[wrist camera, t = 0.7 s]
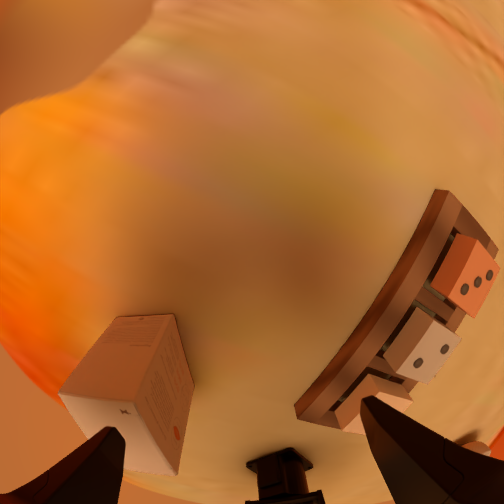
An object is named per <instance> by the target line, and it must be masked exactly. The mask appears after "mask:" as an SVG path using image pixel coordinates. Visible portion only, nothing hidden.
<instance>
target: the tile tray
mask: <svg viewBox="0 0 504 504" xmlns="http://www.w3.org/2000/svg"><path fill="white" fill-rule="evenodd" d="M450 233H451V234H452V235H453V236H454V237H456V234H457V233H458V234H462V235H465V236H468V237H471V238H474V239H477V240H478V241H479V242H480V243H481V244H482V246H483V247H484V248H485V249H486V250H487V252H488V253H489V254H490V255H491V257H492V258H493V259H495V257H496V254H497V252H498V250H499V249H498V248H497V246H496V245H495V244H494V242H493V241H492V240H491V238H490V237H489V236H488V235H487V233H486V232H485V231H484V229H483V228H482V227H481V226H480V225H479V223H478V222H477V221H476V220H475V219H474V217H473V216H472V215H471V214H470V213H469V212H468V210H467V209H466V208H465V207H464V206H463V205H462V204H461V203H460V202H459V200H458V199H457V198H456V197H455V196H454V195H453V194H452V193H451V192H450V191H447V190H437V189H435V191H434V193H433V196H432V198H431V200H430V202H429V204H428V206H427V209H426V211H425V213H424V215H423V217H422V219H421V221H420V223H419V225H418V227H417V229H416V231H415V233H414V235H413V237H412V238H411V240H410V242H409V244H408V246H407V248H406V250H405V251H404V253H403V255H402V257H401V258H400V260H399V262H398V264H397V265H396V267H395V269H394V271H393V272H392V274H391V276H390V277H389V279H388V281H387V282H386V284H385V285H384V287H383V289H382V290H381V292H380V293H379V295H378V297H377V298H376V300H375V301H374V303H373V304H372V306H371V307H370V309H369V310H368V312H367V313H366V315H365V316H364V318H363V319H362V320H361V322H360V323H359V325H358V326H357V328H356V329H355V330H354V332H353V333H352V335H351V336H350V337H349V339H348V340H347V341H346V343H345V344H344V345H343V347H342V348H341V349H340V351H339V352H338V353H337V355H336V356H335V357H334V359H333V360H332V361H331V362H330V364H329V365H328V366H327V367H326V369H325V370H324V371H323V372H322V374H321V375H320V376H319V377H318V378H317V380H316V381H315V382H314V383H313V384H312V386H311V387H310V388H309V389H308V390H307V391H306V393H305V394H304V395H303V396H302V397H301V398H300V399H299V400H298V402H297V403H296V404H295V405H294V407H295V411H296V416H297V419H299V420H303V421H307V422H311V423H315V424H319V425H323V426H328V427H332V428H337V429H341V428H340V425H339V422H338V420H337V417H336V414H335V412H334V411H335V410H336V409H337V408H338V407H339V406H340V405H341V404H342V402H339V401H337V400H338V399H339V398H340V397H341V396H342V394H343V393H344V392H345V391H346V390H347V389H348V388H349V387H350V385H351V384H352V383H353V382H354V381H355V380H356V378H357V377H358V376H359V375H360V374H361V372H362V371H363V370H364V369H365V368H366V366H368V367H371V368H373V369H376V370H379V371H381V372H384V373H387V374H389V375H392V376H391V377H390V378H389V379H388V380H389V381H392V382H395V383H398V384H401V385H402V386H403V387H404V389H405V390H406V391H407V393H409V392H410V391H411V390H412V389H413V388H414V386H415V385H416V384H417V383H418V382H419V381H416V380H414V379H411V378H408V377H405V376H403V375H400V374H397V373H395V371H394V370H393V369H392V367H391V366H390V365H389V363H388V362H387V361H386V359H385V358H384V357H383V355H384V353H385V352H384V351H382V350H380V348H381V347H382V346H383V344H384V343H385V342H386V340H387V339H388V337H389V336H390V335H391V333H392V332H393V330H394V329H395V328H396V326H397V325H398V323H399V322H400V320H401V319H402V317H403V316H404V314H405V313H406V311H407V310H408V308H409V307H410V305H411V303H412V302H413V300H414V299H415V300H417V301H418V302H420V303H421V304H423V305H424V306H426V307H427V308H429V309H430V310H432V311H433V312H435V313H436V315H435V317H434V318H435V319H437V320H438V321H440V322H441V323H443V324H444V325H445V326H447V327H448V328H449V329H451V330H452V331H453V332H454V333H455V331H456V330H457V328H458V326H459V325H460V323H461V322H462V320H463V318H464V317H465V315H466V313H465V312H464V311H462V310H461V309H459V308H458V307H457V306H455V305H454V304H453V303H452V302H450V301H449V300H448V299H447V298H446V299H445V301H444V302H442V301H441V300H440V299H438V298H437V297H436V296H434V295H433V294H432V293H430V292H429V291H428V290H426V289H425V288H423V287H422V285H423V284H424V282H425V280H426V279H427V277H428V275H429V273H430V272H431V270H432V268H433V266H434V264H435V262H436V261H437V259H438V257H439V255H440V253H441V251H442V249H443V247H444V245H445V243H446V241H447V239H448V237H449V235H450Z"/></svg>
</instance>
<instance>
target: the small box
mask: <svg viewBox="0 0 504 504" xmlns="http://www.w3.org/2000/svg"><path fill="white" fill-rule="evenodd" d="M193 390H194V383H193V380H192V377H191V374H190V371H189V367H188V364H187V361H186V357H185V354H184V350H183V347H182V343H181V340H180V336H179V332H178V329H177V325H176V321H175V316H174V314H166V315H151V316H134V317H116V318H115V319H114V321H113V322H112V323H111V324H110V325H109V327H108V328H107V329H106V330H105V331H104V333H103V334H102V335H101V336H100V338H99V339H98V340H97V341H96V343H95V344H94V345H93V346H92V348H91V349H90V350H89V351H88V353H87V354H86V355H85V357H84V358H83V359H82V361H81V362H80V363H79V364H78V366H77V367H76V368H75V370H74V371H73V372H72V374H71V375H70V376H69V378H68V379H67V380H66V382H65V383H64V384H63V386H62V387H61V389H60V390H59V392H58V395H59V396H60V398H61V399H62V401H63V403H64V404H65V406H66V408H67V409H68V411H69V412H70V414H71V415H72V417H73V418H74V420H75V421H76V423H77V424H78V426H79V427H80V428H81V430H82V431H83V433H84V434H85V436H86V437H87V438H88V440H89V439H90V438H91V437H92V436H94V435H95V434H96V433H97V432H99V431H100V430H101V429H103V428H104V427H105V426H112V427H116V428H117V430H118V431H119V432H120V434H121V435H122V436H123V438H124V439H125V442H126V449H125V458H124V469H126V470H132V471H137V472H144V473H151V474H158V475H168V476H176V475H178V469H179V464H180V458H181V453H182V447H183V442H184V436H185V431H186V426H187V421H188V415H189V410H190V405H191V400H192V395H193Z"/></svg>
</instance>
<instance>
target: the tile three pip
mask: <svg viewBox="0 0 504 504" xmlns="http://www.w3.org/2000/svg"><path fill="white" fill-rule="evenodd" d="M499 270H500V267H499V266H498V264H497V263H496V262H495V261H494V259H493V258H492V257H491V255H490V254H489V253H488V252H487V250H486V249H485V248H484V247H483V246H482V244H481V243H480V242H479V241H478V240H477V239H474V238H471V237H468V236H465V235H462V234H458V233H457V234H456V237H455V239H454V241H453V243H452V245H451V247H450V249H449V251H448V253H447V255H446V257H445V259H444V261H443V263H442V265H441V266H440V268H439V270H438V272H437V274H436V276H435V277H434V279H433V281H432V283H431V284H430V286H431V287H432V288H434V289H435V290H436V291H438V292H439V293H440V294H441V295H443V296H444V297H445V298H447V299H448V300H449V301H450V302H452V303H453V304H454V305H455V306H457V307H458V308H459V309H461V310H462V311H464V312H465V313H467V314H468V315H470V316H471V317H472V318H475V316H476V315H477V313H478V311H479V309H480V307H481V306H482V304H483V302H484V300H485V298H486V296H487V295H488V293H489V291H490V289H491V287H492V285H493V283H494V281H495V278H496V276H497V274H498V272H499Z"/></svg>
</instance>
